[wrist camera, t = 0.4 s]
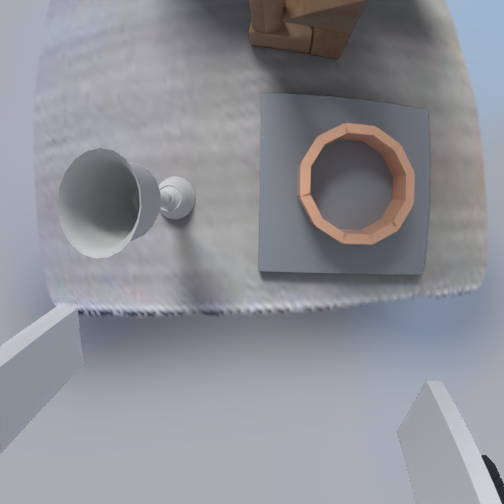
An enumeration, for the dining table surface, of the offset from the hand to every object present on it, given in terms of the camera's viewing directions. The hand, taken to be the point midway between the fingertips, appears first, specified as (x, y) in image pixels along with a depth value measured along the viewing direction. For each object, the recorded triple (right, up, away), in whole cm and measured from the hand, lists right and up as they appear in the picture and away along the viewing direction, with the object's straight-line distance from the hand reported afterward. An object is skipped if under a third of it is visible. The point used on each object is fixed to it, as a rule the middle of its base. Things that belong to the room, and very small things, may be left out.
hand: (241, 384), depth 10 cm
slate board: (+11, +12, +25) cm, 30 cm away
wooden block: (+6, +30, +22) cm, 38 cm away
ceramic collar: (+11, +12, +23) cm, 29 cm away
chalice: (-9, +11, +27) cm, 30 cm away
